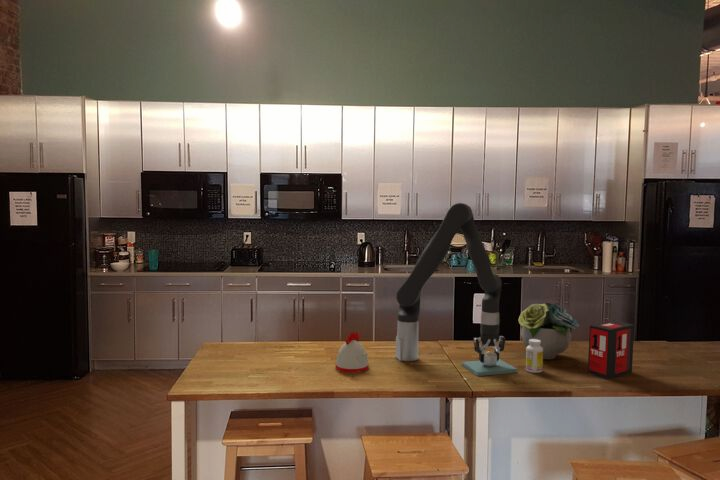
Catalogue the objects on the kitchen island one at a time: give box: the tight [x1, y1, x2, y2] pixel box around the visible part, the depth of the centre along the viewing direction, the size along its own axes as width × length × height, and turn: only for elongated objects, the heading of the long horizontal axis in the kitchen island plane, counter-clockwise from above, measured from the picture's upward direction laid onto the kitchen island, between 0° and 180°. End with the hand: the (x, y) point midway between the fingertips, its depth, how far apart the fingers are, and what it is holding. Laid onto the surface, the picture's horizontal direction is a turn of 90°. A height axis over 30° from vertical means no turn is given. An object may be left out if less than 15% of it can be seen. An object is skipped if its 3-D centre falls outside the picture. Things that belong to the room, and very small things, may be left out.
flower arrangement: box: [518, 302, 580, 360], centre depth 241 cm, size 25×25×24 cm
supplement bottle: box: [525, 339, 544, 374], centre depth 222 cm, size 7×7×13 cm
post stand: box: [461, 350, 518, 377], centre depth 224 cm, size 18×14×8 cm
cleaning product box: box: [587, 320, 635, 380], centre depth 220 cm, size 16×9×20 cm, turn 122°
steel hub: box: [482, 351, 497, 366], centre depth 224 cm, size 6×6×4 cm
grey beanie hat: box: [335, 331, 370, 373], centre depth 225 cm, size 14×14×15 cm
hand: (488, 361), depth 224 cm, fingers closed on steel hub, 6 cm apart
